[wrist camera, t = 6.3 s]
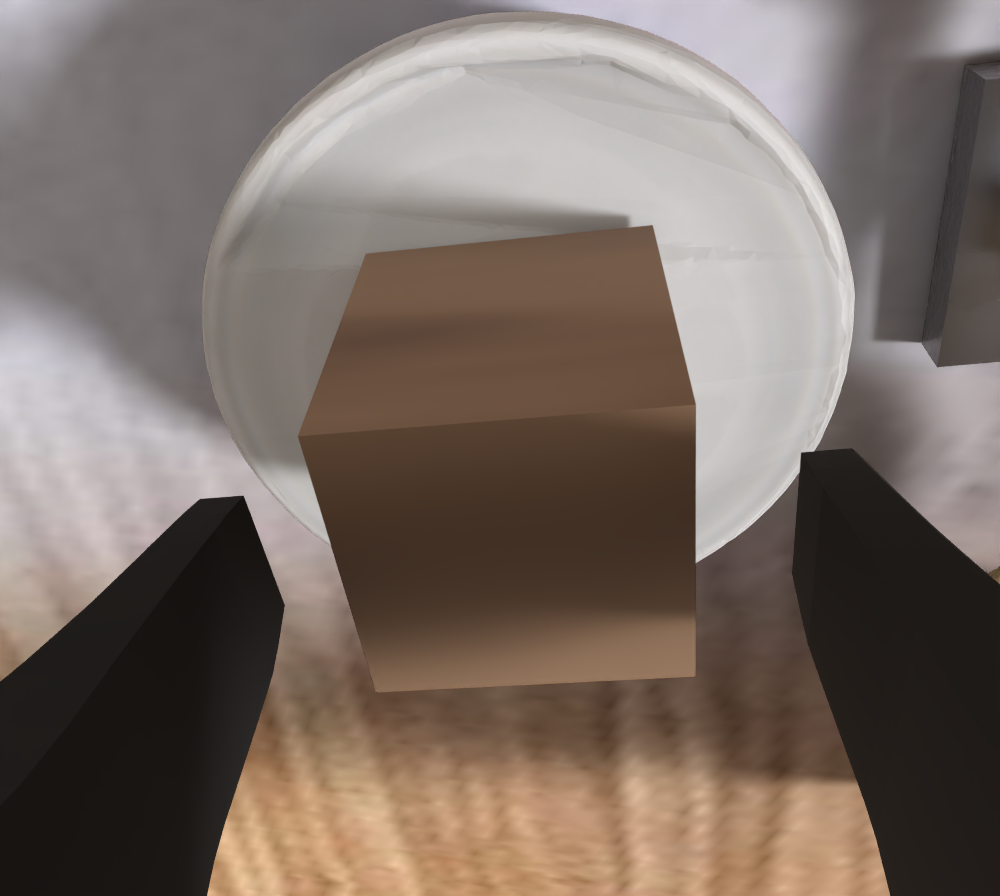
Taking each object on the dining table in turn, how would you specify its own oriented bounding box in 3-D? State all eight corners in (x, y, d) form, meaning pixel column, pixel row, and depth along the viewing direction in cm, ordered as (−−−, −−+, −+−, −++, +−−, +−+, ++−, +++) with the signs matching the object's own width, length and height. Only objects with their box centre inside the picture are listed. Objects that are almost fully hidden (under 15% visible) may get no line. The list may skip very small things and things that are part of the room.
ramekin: (633, -181, 15) (666, -162, 11) (870, 322, 21) (953, 464, 17) (159, 172, 19) (50, 284, 15) (461, 519, 25) (443, 674, 20)
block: (659, 459, 17) (695, 676, 13) (415, 477, 17) (376, 692, 13) (652, 225, 14) (696, 405, 10) (366, 253, 15) (297, 436, 11)
